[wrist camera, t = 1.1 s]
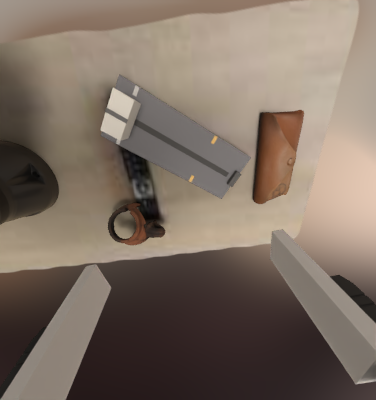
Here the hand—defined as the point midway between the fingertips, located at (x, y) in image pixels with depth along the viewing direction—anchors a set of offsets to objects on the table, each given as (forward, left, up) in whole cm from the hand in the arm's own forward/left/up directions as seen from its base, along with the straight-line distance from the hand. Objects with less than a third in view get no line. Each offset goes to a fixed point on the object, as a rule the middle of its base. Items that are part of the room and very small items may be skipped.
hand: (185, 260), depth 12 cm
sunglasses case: (+15, +12, -24) cm, 31 cm away
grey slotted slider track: (-3, +5, -24) cm, 24 cm away
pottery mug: (-3, -15, -24) cm, 28 cm away
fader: (-13, +5, -21) cm, 25 cm away
